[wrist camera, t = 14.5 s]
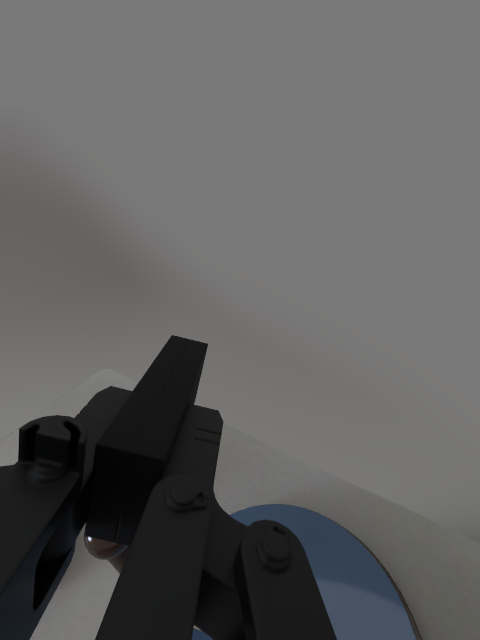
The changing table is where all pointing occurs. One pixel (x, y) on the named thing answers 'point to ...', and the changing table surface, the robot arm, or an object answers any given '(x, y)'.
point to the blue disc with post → (321, 574)
